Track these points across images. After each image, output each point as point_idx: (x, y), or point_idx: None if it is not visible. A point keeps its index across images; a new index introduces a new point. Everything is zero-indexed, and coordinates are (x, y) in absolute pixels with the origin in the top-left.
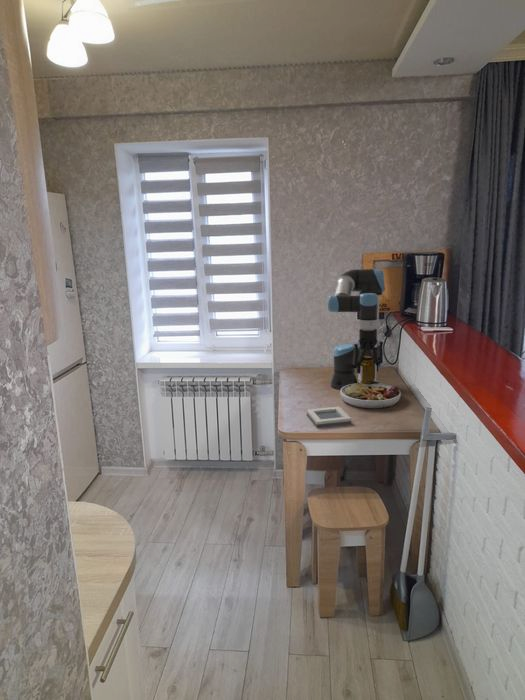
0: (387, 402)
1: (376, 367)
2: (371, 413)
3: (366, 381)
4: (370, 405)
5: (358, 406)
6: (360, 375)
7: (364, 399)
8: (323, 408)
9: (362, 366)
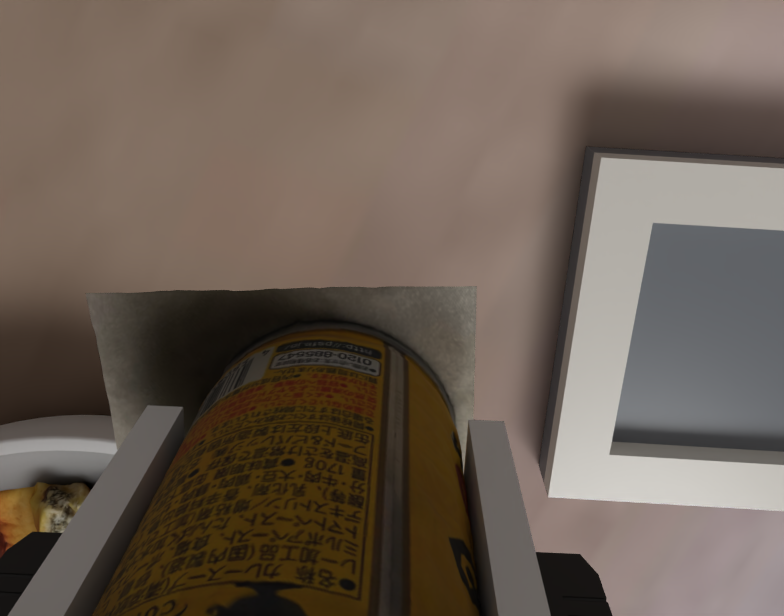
0: (37, 423)
1: (28, 592)
2: None
3: (399, 363)
4: None
5: None
6: (518, 503)
7: None
8: (716, 497)
9: None
